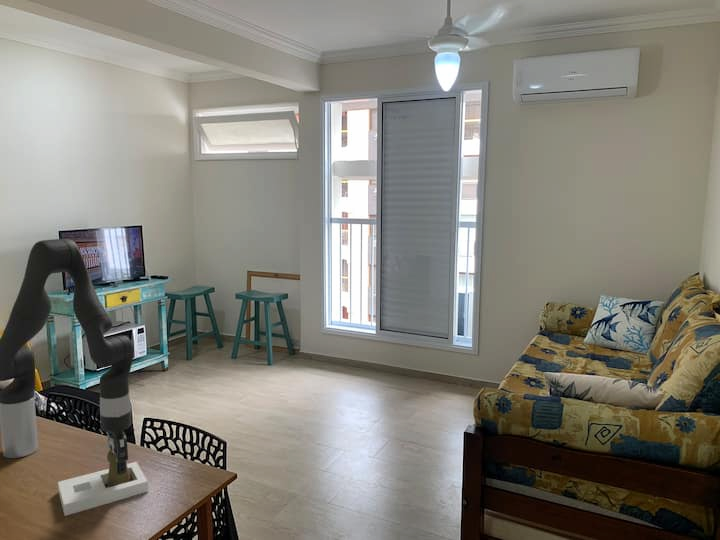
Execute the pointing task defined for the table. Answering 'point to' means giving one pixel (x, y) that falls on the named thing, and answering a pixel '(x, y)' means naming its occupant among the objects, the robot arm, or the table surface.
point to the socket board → (98, 489)
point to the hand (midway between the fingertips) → (118, 466)
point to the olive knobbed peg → (113, 476)
